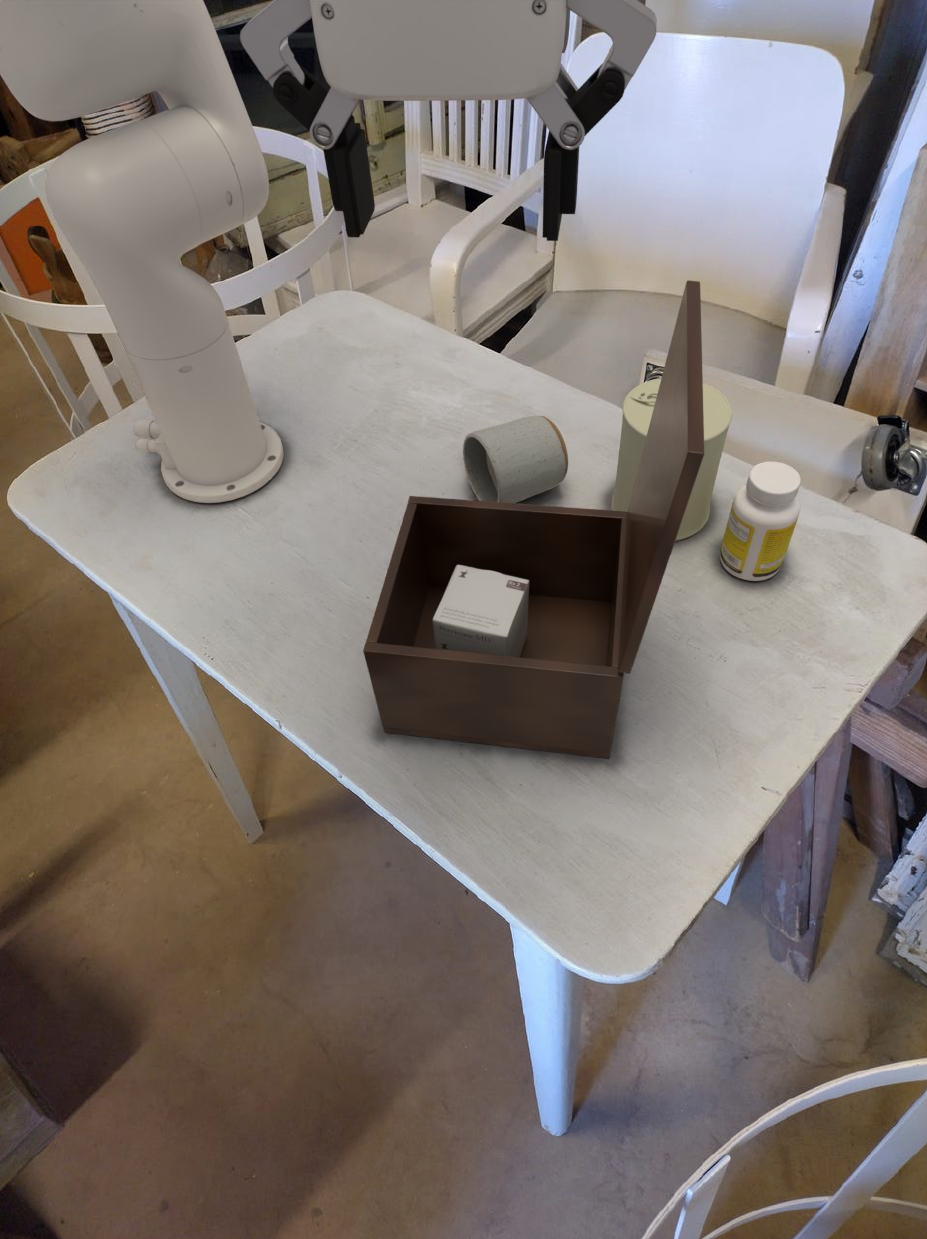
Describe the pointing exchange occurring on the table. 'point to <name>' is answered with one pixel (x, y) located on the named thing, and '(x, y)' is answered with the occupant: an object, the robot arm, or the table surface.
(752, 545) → the supplement bottle
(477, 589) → the white cardboard box
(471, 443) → the ceramic mug
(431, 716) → the chest
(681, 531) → the can
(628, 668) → the lid
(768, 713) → the table surface
